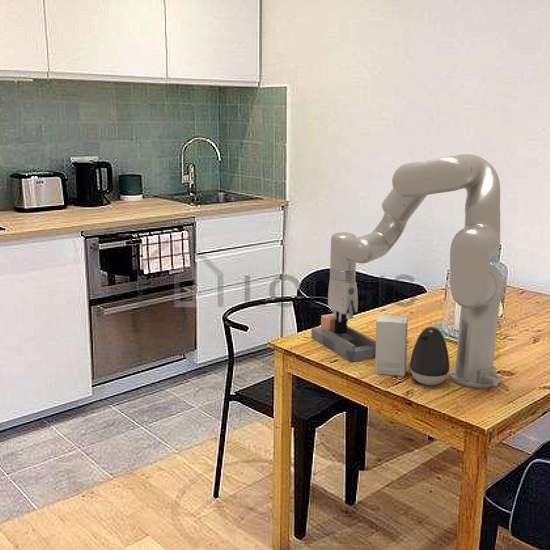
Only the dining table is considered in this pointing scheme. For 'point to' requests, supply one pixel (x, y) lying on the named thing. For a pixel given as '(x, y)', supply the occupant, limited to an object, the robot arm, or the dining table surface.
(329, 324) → the block
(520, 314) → the dining table surface
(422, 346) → the egg-shaped speaker
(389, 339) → the skincare box
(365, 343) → the trough
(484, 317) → the robot arm
